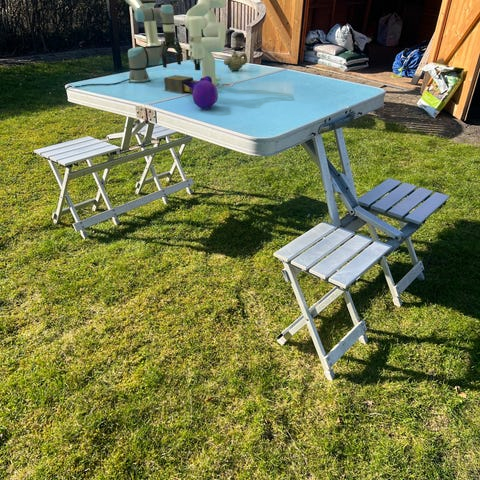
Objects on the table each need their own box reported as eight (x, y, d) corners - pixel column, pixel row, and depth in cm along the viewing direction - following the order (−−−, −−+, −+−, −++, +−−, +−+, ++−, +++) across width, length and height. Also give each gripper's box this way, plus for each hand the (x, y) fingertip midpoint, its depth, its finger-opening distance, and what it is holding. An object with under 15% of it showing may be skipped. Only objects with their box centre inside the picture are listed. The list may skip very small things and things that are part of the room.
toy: (205, 99, 283) (218, 114, 263) (178, 94, 276) (189, 110, 255) (211, 73, 275) (224, 87, 254) (183, 68, 268) (194, 82, 247)
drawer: (208, 91, 300) (207, 81, 297) (198, 94, 294) (197, 83, 290) (185, 87, 311) (184, 78, 308) (175, 90, 305) (174, 80, 301)
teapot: (227, 73, 361) (227, 53, 353) (221, 70, 369) (220, 51, 362) (250, 70, 370) (250, 50, 362) (243, 68, 378) (242, 49, 371)
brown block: (193, 90, 308) (193, 77, 304) (182, 93, 301) (181, 80, 296) (176, 87, 317) (175, 75, 313) (165, 90, 310) (164, 77, 305)
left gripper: (159, 33, 282) (162, 69, 293) (186, 30, 299) (188, 63, 310) (151, 33, 286) (154, 68, 297) (178, 29, 303) (181, 62, 314)
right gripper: (192, 41, 275) (194, 72, 285) (208, 38, 285) (209, 68, 295) (183, 40, 279) (185, 71, 289) (199, 37, 289) (201, 67, 299)
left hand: (172, 66), depth 304 cm, fingers open, 13 cm apart
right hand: (197, 70), depth 292 cm, fingers closed
